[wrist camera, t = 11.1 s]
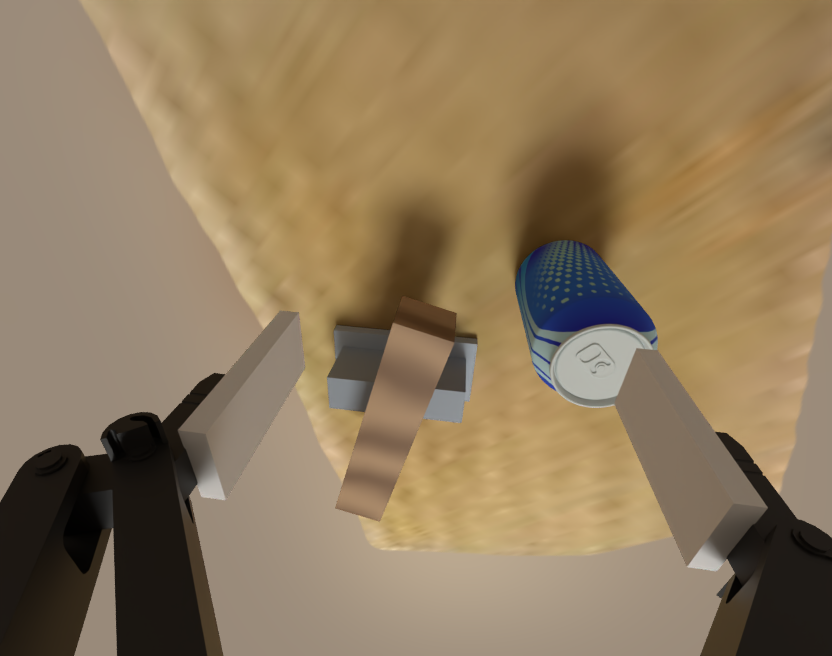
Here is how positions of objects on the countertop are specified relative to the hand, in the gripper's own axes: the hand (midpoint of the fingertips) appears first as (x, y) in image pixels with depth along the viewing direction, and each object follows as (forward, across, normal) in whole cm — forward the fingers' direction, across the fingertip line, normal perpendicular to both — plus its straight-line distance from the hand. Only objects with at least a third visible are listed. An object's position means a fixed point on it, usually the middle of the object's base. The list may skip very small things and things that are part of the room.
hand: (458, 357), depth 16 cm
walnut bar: (+18, -5, -19) cm, 26 cm away
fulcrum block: (+25, -5, -19) cm, 32 cm away
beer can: (+26, +10, -7) cm, 28 cm away
